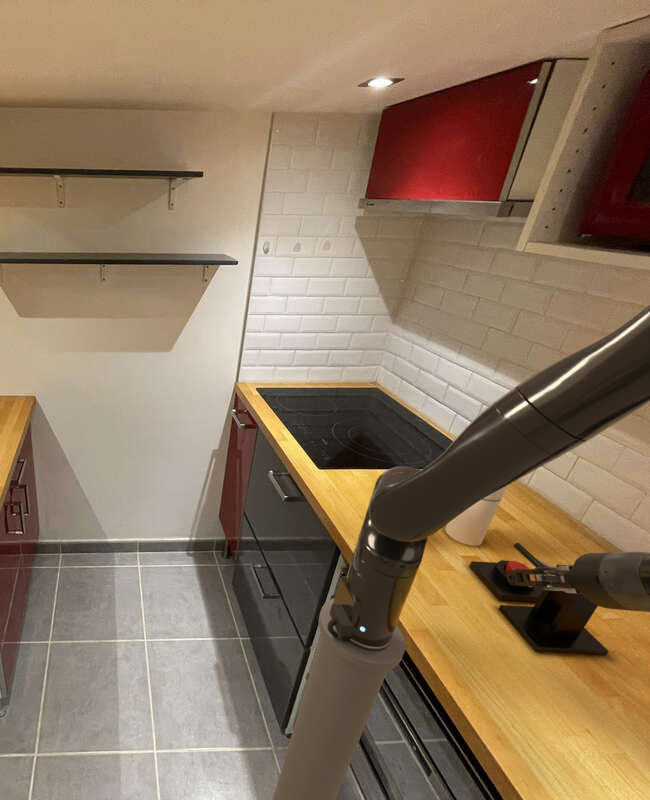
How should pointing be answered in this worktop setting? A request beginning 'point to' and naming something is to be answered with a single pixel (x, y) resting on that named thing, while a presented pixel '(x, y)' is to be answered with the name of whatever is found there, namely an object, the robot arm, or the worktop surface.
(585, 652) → the lever bracket
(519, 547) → the lever
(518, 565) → the button
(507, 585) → the block
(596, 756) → the worktop surface
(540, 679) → the worktop surface
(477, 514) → the cylindrical container
